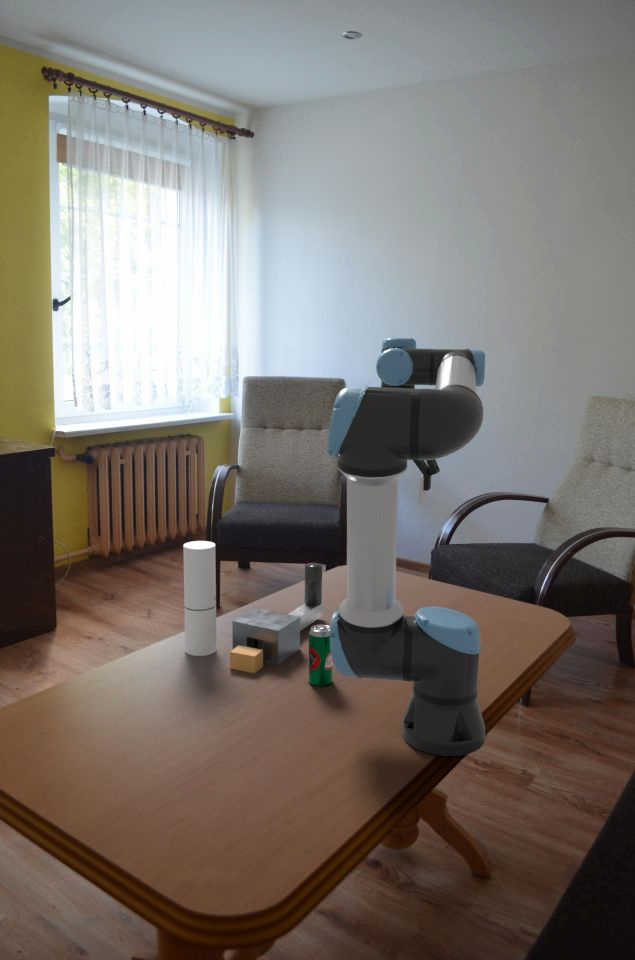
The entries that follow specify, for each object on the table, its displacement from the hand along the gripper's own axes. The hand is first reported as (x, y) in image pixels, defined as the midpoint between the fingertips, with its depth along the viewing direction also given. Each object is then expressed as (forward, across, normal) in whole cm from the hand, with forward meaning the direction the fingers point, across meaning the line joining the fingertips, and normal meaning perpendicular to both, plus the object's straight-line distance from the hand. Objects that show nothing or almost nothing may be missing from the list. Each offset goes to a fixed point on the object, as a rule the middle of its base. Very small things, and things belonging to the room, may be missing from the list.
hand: (394, 501), depth 182 cm
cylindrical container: (+35, +37, +24) cm, 56 cm away
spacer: (+33, +23, +25) cm, 47 cm away
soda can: (+35, +5, +26) cm, 44 cm away
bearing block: (+35, +23, +18) cm, 45 cm away
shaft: (+34, +23, +6) cm, 41 cm away
